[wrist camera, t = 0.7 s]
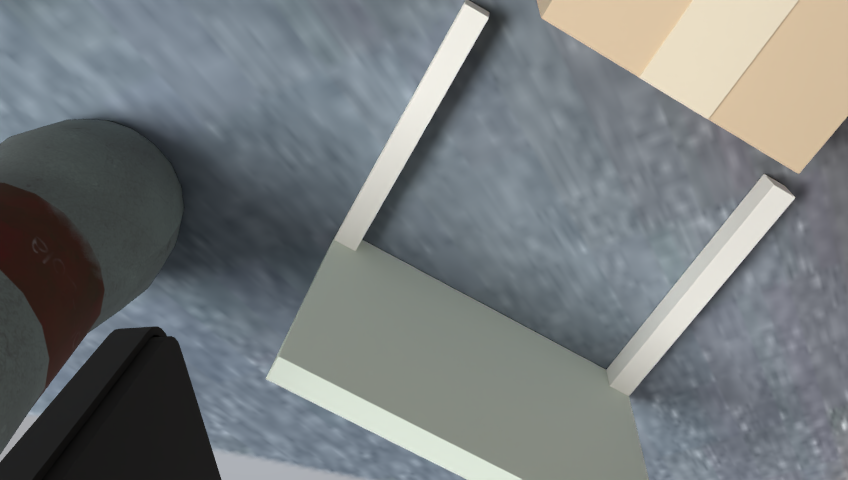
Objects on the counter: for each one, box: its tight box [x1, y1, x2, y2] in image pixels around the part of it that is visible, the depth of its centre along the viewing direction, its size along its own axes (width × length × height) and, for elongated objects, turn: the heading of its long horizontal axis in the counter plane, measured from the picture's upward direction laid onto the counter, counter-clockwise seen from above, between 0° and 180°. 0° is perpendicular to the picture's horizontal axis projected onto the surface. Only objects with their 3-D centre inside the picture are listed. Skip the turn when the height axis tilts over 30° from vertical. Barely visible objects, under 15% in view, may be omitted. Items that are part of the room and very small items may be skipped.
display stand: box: [266, 0, 795, 480], centre depth 33 cm, size 14×17×12 cm
